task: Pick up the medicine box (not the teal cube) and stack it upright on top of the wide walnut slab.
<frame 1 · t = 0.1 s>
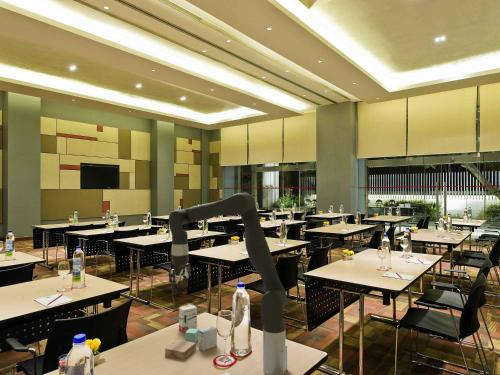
hand: (180, 288, 164), 29 cm above the table, fingers open, 8 cm apart
teal cube: (192, 340, 177), on the table
medicine box: (207, 347, 170), on the table
ink box: (188, 329, 191), on the table
walnut slab: (180, 353, 165), on the table
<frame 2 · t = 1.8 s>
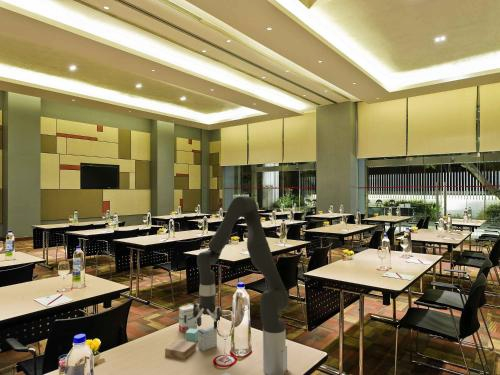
hand: (207, 327, 170), 9 cm above the table, fingers open, 8 cm apart
nothing on the table moved.
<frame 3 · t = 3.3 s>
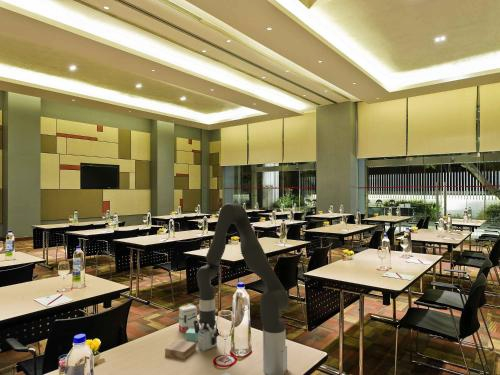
hand: (207, 343, 170), 2 cm above the table, fingers closed on medicine box, 5 cm apart
medicine box: (207, 347, 170), on the table, touching gripper
everything else where it was.
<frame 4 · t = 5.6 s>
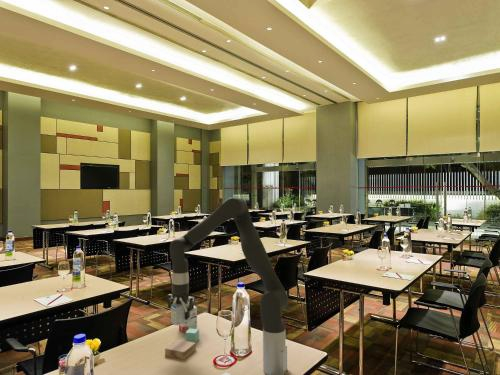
hand: (180, 318, 165), 16 cm above the table, fingers closed on medicine box, 5 cm apart
medicine box: (181, 322, 165), point 13 cm above the table, touching gripper
everything else where it was.
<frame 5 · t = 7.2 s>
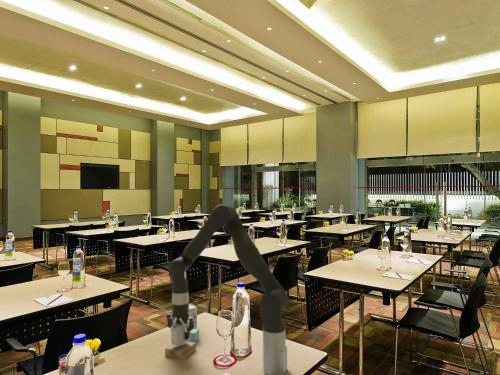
hand: (180, 338, 165), 6 cm above the table, fingers closed on medicine box, 5 cm apart
medicine box: (181, 342, 165), point 4 cm above the table, touching gripper
everything else where it was.
when the fingers open (6 cm above the table, at t = 8.1 s): medicine box drops 1 cm, resting on walnut slab.
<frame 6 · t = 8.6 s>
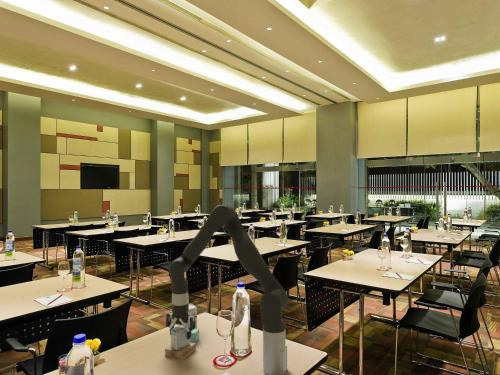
hand: (180, 337, 165), 7 cm above the table, fingers open, 8 cm apart
medicine box: (180, 346, 165), point 3 cm above the table, touching walnut slab
walnut slab: (180, 353, 165), on the table, touching medicine box
everything else where it was.
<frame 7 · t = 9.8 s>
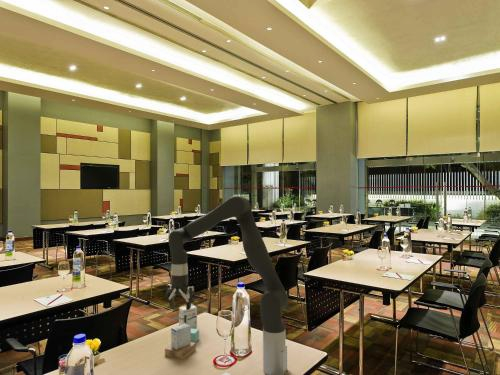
hand: (180, 308, 164), 20 cm above the table, fingers open, 8 cm apart
nothing on the table moved.
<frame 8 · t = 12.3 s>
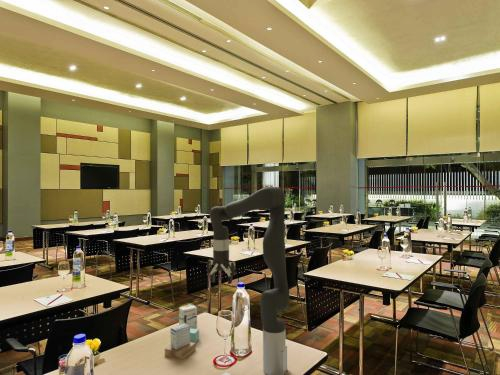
hand: (221, 283, 170), 30 cm above the table, fingers open, 8 cm apart
medicine box: (180, 346, 165), point 3 cm above the table
walnut slab: (180, 353, 165), on the table
everything else where it was.
at the end: medicine box inside the target area on the walnut slab (0.1 cm from its centre), point 3.3 cm above the walnut slab's base; medicine box tilted 0°; the gripper is holding nothing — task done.
